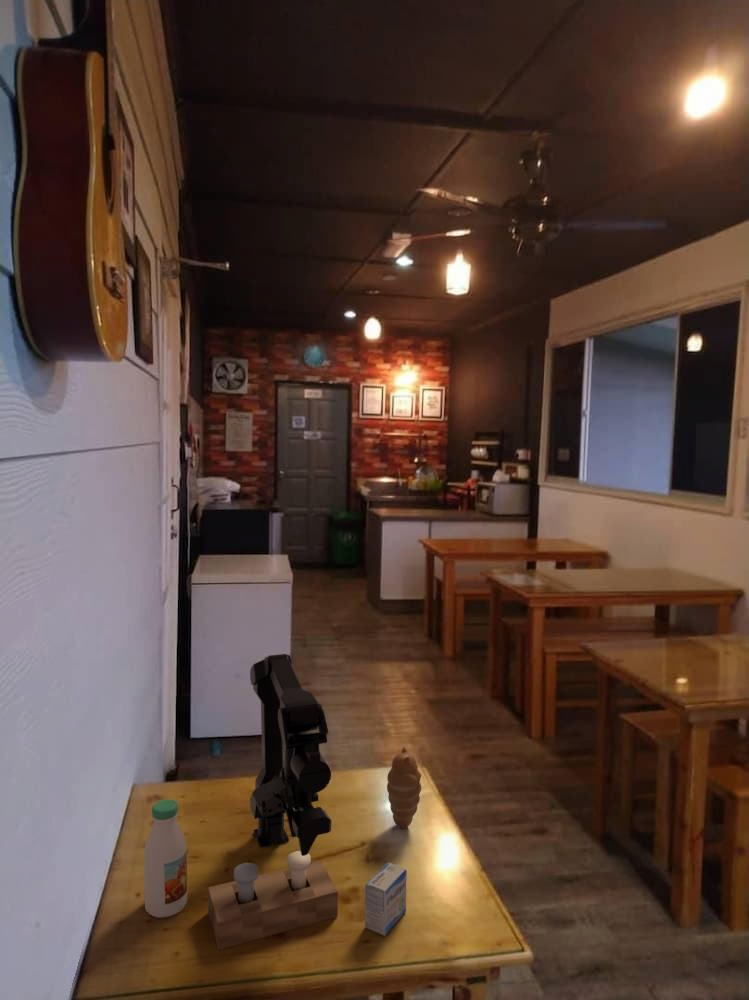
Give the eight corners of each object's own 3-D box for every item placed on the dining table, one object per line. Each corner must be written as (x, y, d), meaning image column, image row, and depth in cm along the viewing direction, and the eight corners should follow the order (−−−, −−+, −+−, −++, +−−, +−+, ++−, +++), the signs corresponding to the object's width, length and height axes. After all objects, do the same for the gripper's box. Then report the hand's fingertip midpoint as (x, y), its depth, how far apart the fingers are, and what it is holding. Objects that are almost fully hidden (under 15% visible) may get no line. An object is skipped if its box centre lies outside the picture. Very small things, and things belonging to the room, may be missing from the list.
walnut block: (208, 912, 129) (208, 887, 128) (320, 883, 138) (320, 860, 137) (218, 949, 120) (218, 923, 119) (337, 916, 129) (337, 891, 128)
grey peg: (231, 894, 127) (231, 866, 127) (255, 888, 129) (255, 860, 129) (236, 909, 123) (236, 880, 123) (260, 903, 125) (260, 874, 125)
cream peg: (284, 881, 131) (284, 853, 131) (306, 875, 133) (306, 848, 133) (290, 895, 127) (291, 867, 127) (313, 889, 129) (313, 862, 129)
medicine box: (384, 937, 124) (385, 892, 123) (363, 927, 126) (364, 883, 125) (406, 912, 130) (407, 868, 129) (386, 903, 133) (387, 860, 132)
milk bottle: (148, 924, 126) (146, 820, 124) (141, 898, 132) (139, 799, 130) (191, 911, 129) (190, 810, 127) (182, 887, 136) (181, 790, 134)
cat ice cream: (423, 836, 154) (425, 759, 152) (389, 839, 153) (390, 761, 151) (415, 814, 163) (417, 741, 161) (383, 816, 162) (384, 743, 160)
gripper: (245, 751, 133) (245, 828, 135) (270, 799, 116) (270, 886, 118) (300, 742, 138) (300, 816, 139) (332, 787, 121) (331, 871, 122)
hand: (299, 845), depth 129 cm, fingers open, 6 cm apart
